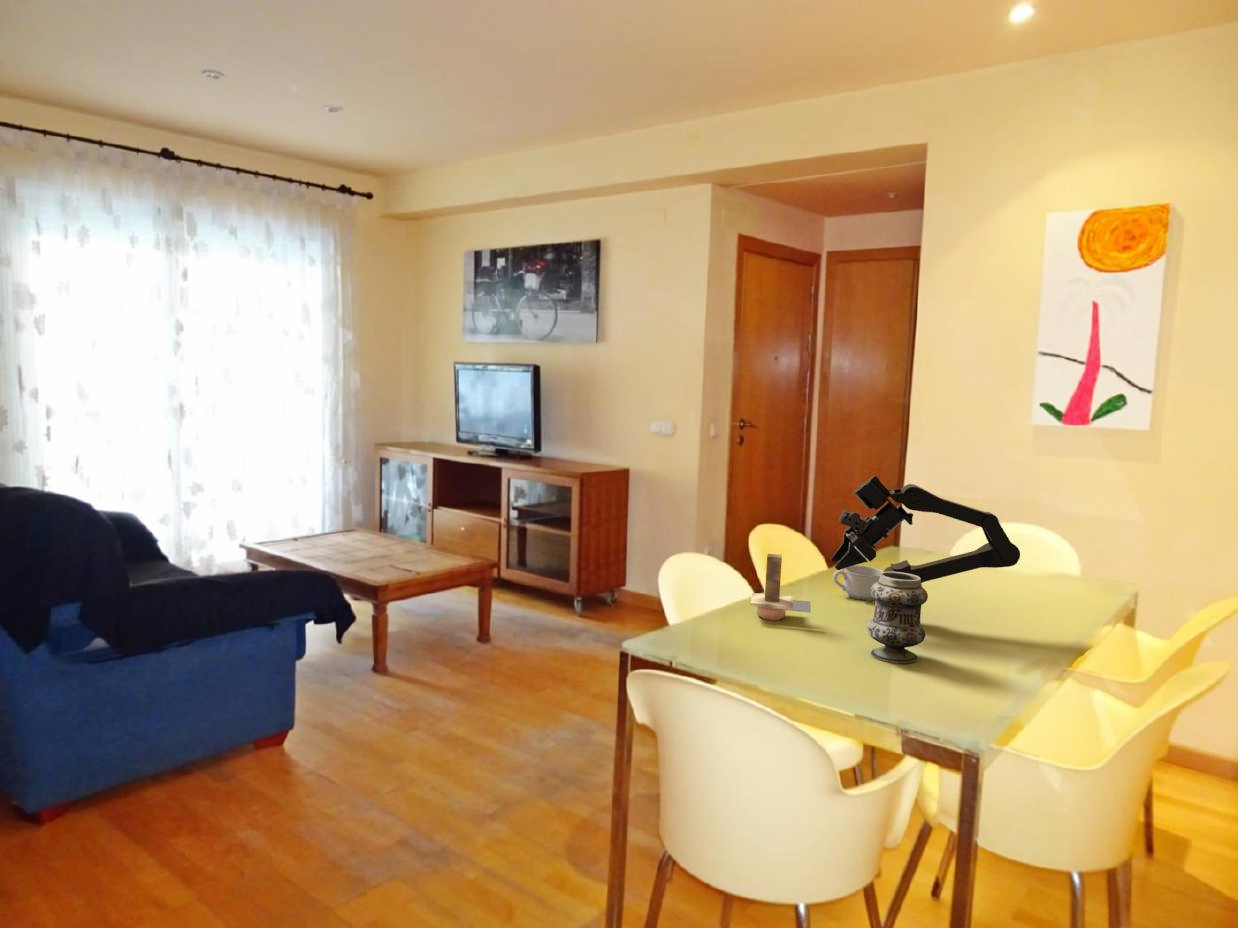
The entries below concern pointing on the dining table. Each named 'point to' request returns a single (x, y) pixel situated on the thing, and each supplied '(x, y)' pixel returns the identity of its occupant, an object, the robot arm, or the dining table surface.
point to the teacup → (858, 581)
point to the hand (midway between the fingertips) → (834, 564)
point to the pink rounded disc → (771, 613)
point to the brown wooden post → (772, 587)
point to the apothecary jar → (897, 616)
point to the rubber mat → (801, 606)
